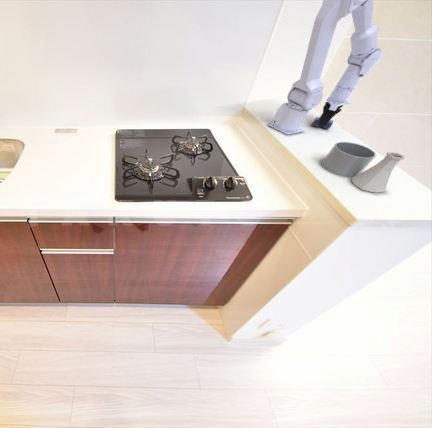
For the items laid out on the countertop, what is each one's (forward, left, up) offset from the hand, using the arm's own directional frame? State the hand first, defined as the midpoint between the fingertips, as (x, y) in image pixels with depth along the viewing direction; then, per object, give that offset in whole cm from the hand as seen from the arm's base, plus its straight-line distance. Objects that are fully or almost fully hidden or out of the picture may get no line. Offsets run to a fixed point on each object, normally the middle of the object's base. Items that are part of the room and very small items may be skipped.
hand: (322, 123), depth 93 cm
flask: (+33, -25, -2) cm, 41 cm away
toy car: (0, 0, -1) cm, 1 cm away
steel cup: (+24, -23, -1) cm, 33 cm away
